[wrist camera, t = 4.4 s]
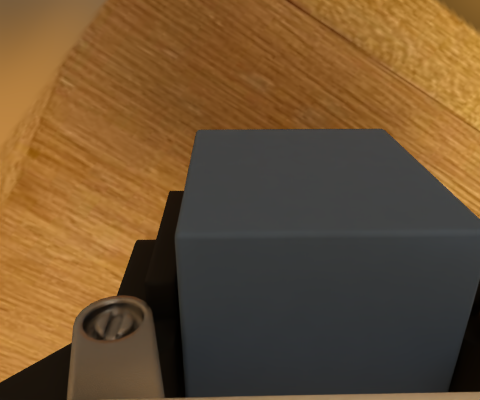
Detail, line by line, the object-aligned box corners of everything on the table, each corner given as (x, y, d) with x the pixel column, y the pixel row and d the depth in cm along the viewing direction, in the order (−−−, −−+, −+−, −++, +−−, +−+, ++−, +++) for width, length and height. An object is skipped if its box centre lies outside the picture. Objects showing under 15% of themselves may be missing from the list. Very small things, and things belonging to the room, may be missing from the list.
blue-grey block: (196, 128, 11) (173, 234, 6) (384, 127, 11) (496, 231, 6) (203, 326, 13) (192, 502, 9) (356, 324, 13) (420, 496, 9)
